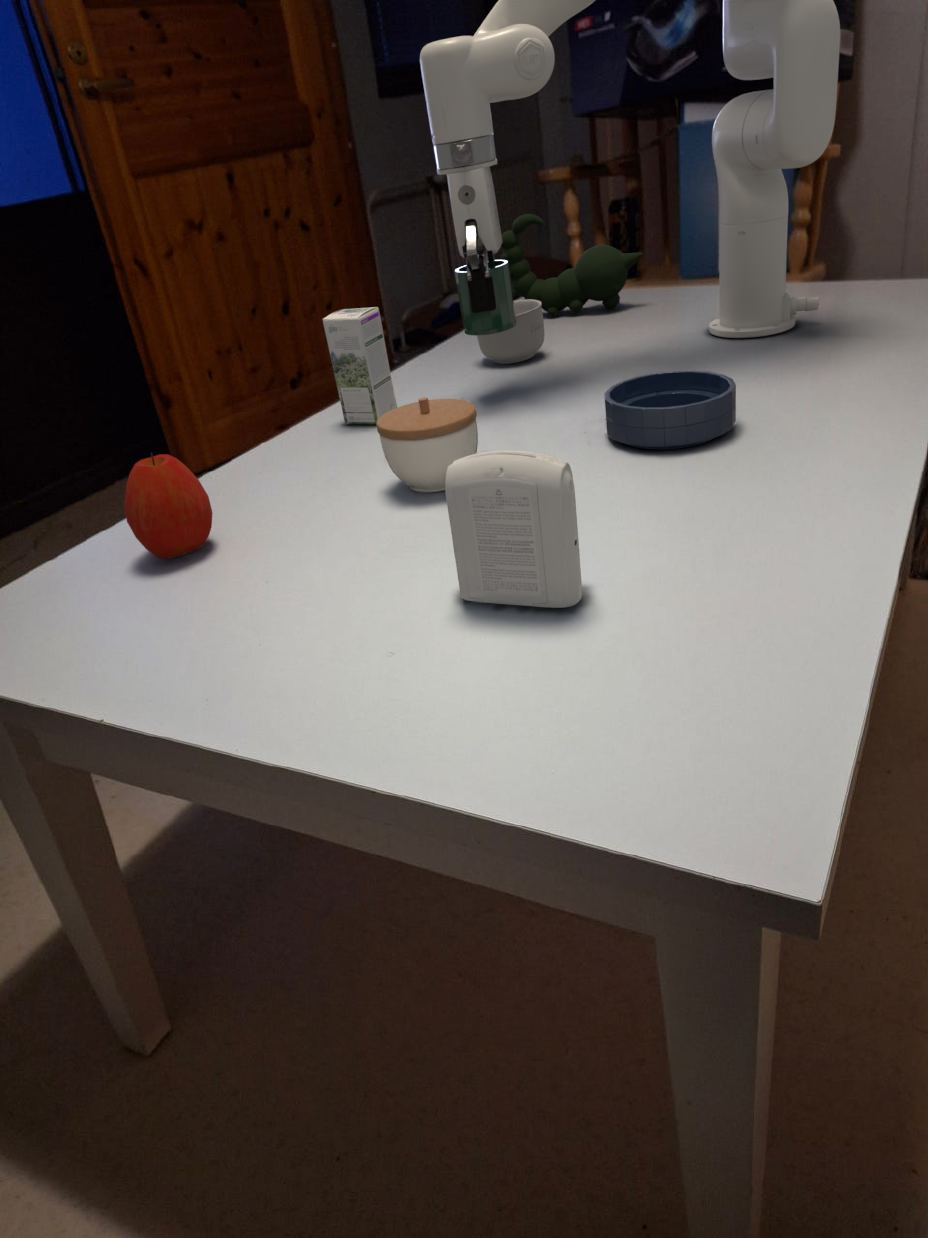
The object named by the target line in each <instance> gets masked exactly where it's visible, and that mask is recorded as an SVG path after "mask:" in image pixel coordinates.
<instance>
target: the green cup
mask: <svg viewBox="0 0 928 1238" xmlns="http://www.w3.org/2000/svg"><path fill="white" fill-rule="evenodd" d="M489 272H490V277H492V278H493V285H494V293H495V300H496V309H495V310H492V311H485V312H478V313H473V312H472V310H471V303H470V297H469V290H468V284H467V281H468V277H467V267H466V265H463V266H460V267H458V268H455V270H454V277H455V282H456V287H457V288H456V289H457V296H458V302H459V308H460V312H461V321H462V325H463V330H464V334H465V335H467V336H476V337H477V335H488V334H494V333H499V332H503V331H506V330H509V329H511V328H513V327H514V326H516V316H515V309H514V301H515V300H514V297H513V293H512V286H513V285H512V280H511V278H510V270H509V263H508V261H506V260H502V259H495V260H491V261H489Z"/></svg>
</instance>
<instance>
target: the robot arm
mask: <svg viewBox="0 0 928 1238" xmlns="http://www.w3.org/2000/svg"><path fill="white" fill-rule="evenodd" d="M595 1H596V0H497V2H496V3H495V4H494V6H493V7H492V9H490V11H489V13H488V14H487V15H486V17H485V18H484V19H483V21H482V23H481V24H480V26H479V27H478V28H477V30H476V32H474V35H460V36H454V37H447V38H443V39H438V40H435V41H432V42H429V43H426V44H425V45H424V46H423V47H422V49H421V50H420V53H419V65H420V72H421V79H422V84H423V91H424V98H425V102H426V103H425V104H426V111H427V115H428V116H427V117H428V123H429V129H430V135H431V141H432V145H433V146H432V147H433V153H434V159H435V165H436V173H437V175H439V176H442V175H444V176H445V175H446V179H447V186H448V187H447V188H448V194H449V201H450V207H451V208H450V209H451V214H452V220H453V228H454V233H455V239H456V244H457V249H458V253H459V256H460V257H461V258H463V259H465V266H466V267H467V277H468V281H467V284H468V290H469V297H470V303H471V310H472V312H473V313H478V312H485V311H492V310H495V309H496V300H495V293H494V285H493V278H492V277H490V272H489V261H491V260H496V257H495V254H497V253H498V252H499V250H500V249H501V248H502V246H501V244H502V230H501V225H500V218H499V212H498V205H497V199H496V191H495V185H494V181H493V175H492V172H491V167H493V166H495V165H498V159H497V151H496V150H497V149H496V141H495V135H494V127H493V119H492V118H493V117H492V112H491V103H492V104H493V103H499V102H505V101H514V100H519V99H524V98H528V97H530V96H533V95H534V94H536V93H538V92H539V91H540V90H542V88H544V87H545V86H546V84H547V83H548V82H549V80H550V78H551V76H552V74H553V71H554V69H555V61H556V60H555V58H556V57H555V50H554V46H553V44H552V41H551V40H550V38H549V37H550V36H551V35H552V34H553V33H554V32H555V31H556V30H557V29H558V28H559V27H560V26H562V25H563V24H564V23H565V22H567V21H568V20H570V19H571V18H572V17H574V16H576V15H577V14H579V13H581V12H582V11H583V10H585V9H586V8H588V7H590V5H592V4H593V3H594V2H595ZM840 46H841V23H840V16H839V13H838V9H837V6H836V4H835V1H834V0H722V55H723V63H724V66H725V68H726V70H727V72H728V74H729V75H730V76H732V77H733V78H735V79H738V80H741V81H754V80H755V81H757V80H765V79H772V78H773V88H771V89H764V90H757V91H752V92H747V93H743V94H740V95H738V96H736V97H733V98H732V99H731V100H729V101H728V102H727V103H726V104H725V105H724V106H723V107H722V108H721V110H720V111H719V112H718V113H717V116H716V117H715V120H714V122H713V126H712V130H711V149H712V156H713V161H714V166H715V171H716V178H717V189H718V231H719V232H718V235H719V238H718V239H719V240H718V242H719V244H718V245H719V247H718V251H719V252H718V257H719V258H718V259H719V260H718V261H719V262H718V263H719V266H718V267H719V268H718V269H719V270H718V271H719V272H718V273H719V274H718V275H719V279H718V280H719V281H718V284H719V293H718V294H719V302H718V303H719V305H718V306H719V310H718V311H719V317H717V318H715V319H713V320H712V321H711V322H709V324H708V332H709V333H710V334H711V335H713V336H716V337H721V338H730V339H747V338H759V337H767V336H772V335H776V334H781V333H783V332H786V331H789V330H791V329H792V328H794V327H795V325H796V316H795V315H796V314H797V312H803V311H804V312H812V311H818V310H819V307H820V298H819V296H808V297H807V296H806V295H803V296H798V297H793V296H792V297H791V296H790V295H789V294H788V293H787V292H786V290H787V289H786V288H787V261H788V260H787V259H788V258H787V256H788V227H789V225H788V224H789V193H788V186H787V181H786V179H785V176H784V173H783V170H788V169H789V170H790V169H800V168H804V167H807V166H809V165H811V164H813V163H815V162H816V161H817V160H819V158H820V157H821V156H823V154H824V152H825V151H826V149H827V148H828V146H829V144H830V141H831V140H832V139H831V138H832V136H833V133H834V132H833V131H834V127H835V122H836V113H837V112H836V111H837V98H838V97H837V96H838V83H839V82H838V80H839V64H840Z"/></svg>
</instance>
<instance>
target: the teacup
mask: <svg viewBox="0 0 928 1238" xmlns="http://www.w3.org/2000/svg"><path fill="white" fill-rule="evenodd" d="M513 301H514V309H515V316H516V326H514V327H513V328H511V329H509V330H506V331H503V332H499V333H494V334H488V335H476V338H477V342H478V346H479V349H480V351H481V353H482V355H483V356H484V357H486V358H487V359H489V360H491V361H492V362H493V363H495V364H499V365H510V364H516V363H520V362H525V361H527V360H529V359H531V358H533V357H534V356H536V354H537V352H538V351H539V350H540V349H541V348H542V346H543V344H544V341H545V323H544V316H543V309H542V308H541V307H542V303H541V301H538V300H533V299H525V298H524V299H516V300H513Z"/></svg>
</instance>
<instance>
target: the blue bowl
mask: <svg viewBox="0 0 928 1238" xmlns="http://www.w3.org/2000/svg"><path fill="white" fill-rule="evenodd" d="M603 395H604V409H605V423H606V424H605V425H606V434H607V436H608V437H610V438H611V439H612V440H613V441H615V442H619V443H622V444H625V445H628V446H630V447H633V448H638V449H643V450H676V449H684V448H689V447H694V446H698V445H701V444H704V443H707V442H709V441H712V440H714V439H716V438H718V437H721V436H722V435H724V434H726V433H728V432H729V431H730V430H732V429H733V427H734V425H735V423H736V420H737V417H736V416H737V384H736V382H735V381H734V379H733V378H732V377H730V376H728V375H726V374H722V373H718V372H713V371H705V370H692V369H691V370H670V371H660V372H653V373H648V374H647V373H646V374H642V375H637V376H634V377H631V378H627V379H624V380H621V381H619V382H617V383H615V384H612V385H611V386H609V388H608V389H607V390H606V391H605V392H604V393H603Z"/></svg>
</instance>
